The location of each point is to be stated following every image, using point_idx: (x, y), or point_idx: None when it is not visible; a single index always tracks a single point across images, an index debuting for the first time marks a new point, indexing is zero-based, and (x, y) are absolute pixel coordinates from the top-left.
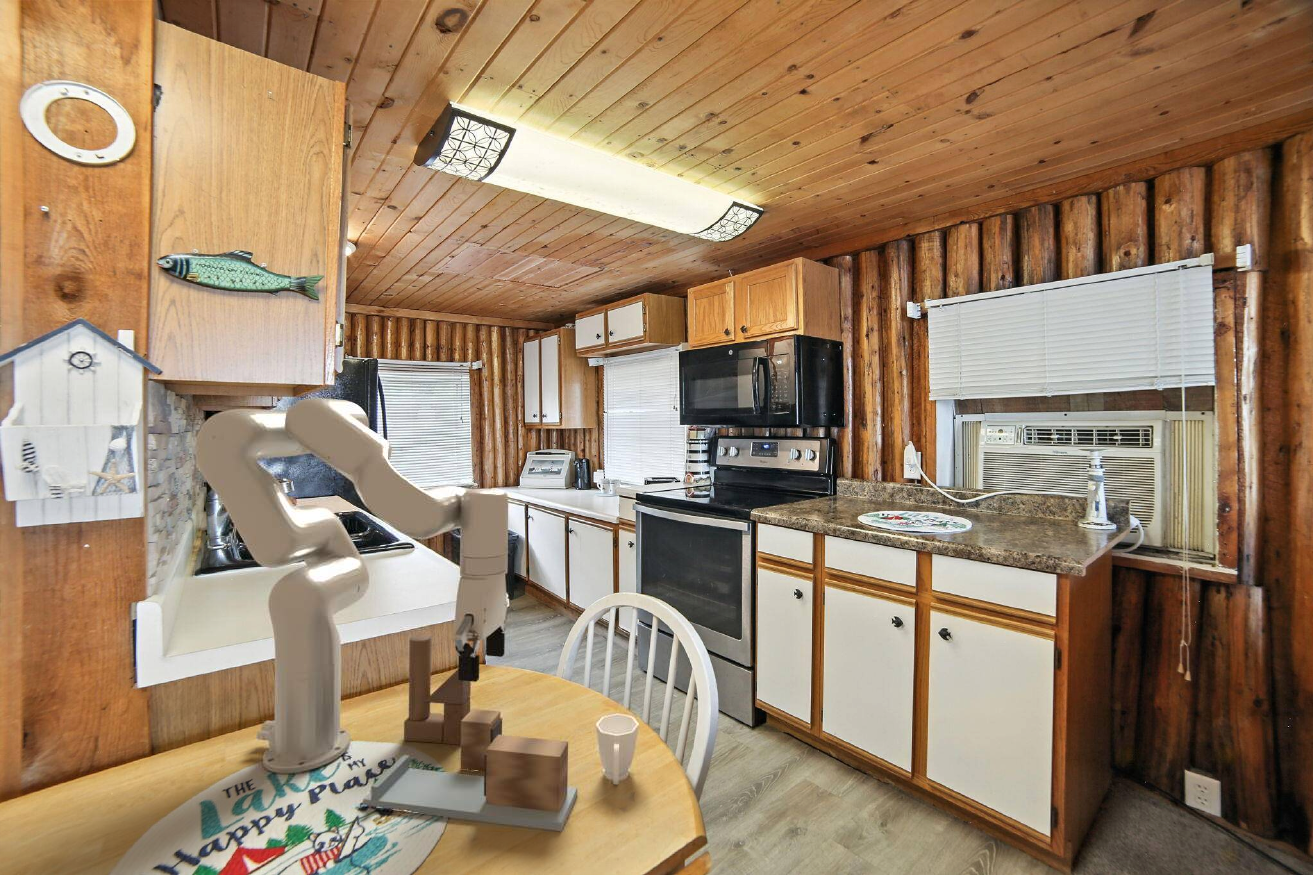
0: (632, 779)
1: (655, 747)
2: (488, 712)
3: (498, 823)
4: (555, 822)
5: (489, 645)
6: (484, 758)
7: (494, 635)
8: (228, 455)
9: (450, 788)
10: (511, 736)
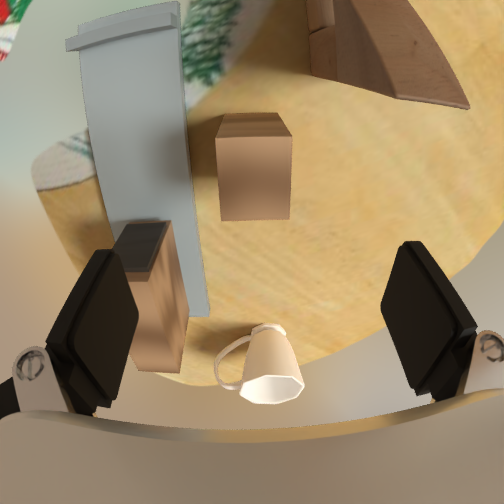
0: None
1: (328, 353)
2: (278, 191)
3: None
4: None
5: (416, 294)
6: None
7: (429, 360)
8: None
9: (140, 146)
10: (152, 305)
